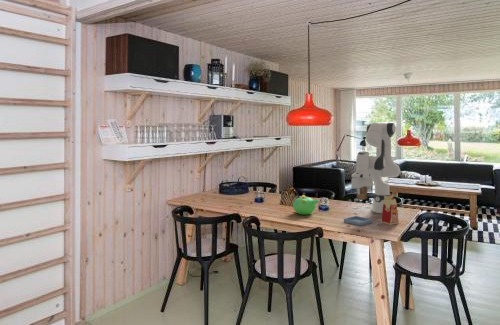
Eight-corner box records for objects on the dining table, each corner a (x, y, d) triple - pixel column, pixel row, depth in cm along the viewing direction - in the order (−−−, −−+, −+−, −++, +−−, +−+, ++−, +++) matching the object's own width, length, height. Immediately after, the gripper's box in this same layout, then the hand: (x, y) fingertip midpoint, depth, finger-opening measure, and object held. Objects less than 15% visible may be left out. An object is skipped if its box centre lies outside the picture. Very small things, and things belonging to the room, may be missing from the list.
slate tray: (355, 219, 268) (355, 215, 268) (372, 222, 257) (372, 219, 257) (343, 222, 260) (343, 218, 259) (360, 226, 248) (360, 222, 248)
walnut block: (361, 198, 261) (361, 185, 261) (367, 199, 257) (367, 186, 257) (356, 198, 258) (357, 186, 257) (362, 199, 254) (363, 187, 254)
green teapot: (308, 211, 295) (308, 193, 294) (320, 215, 280) (320, 196, 278) (289, 213, 287) (289, 195, 286) (300, 217, 272) (301, 198, 271)
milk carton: (398, 223, 256) (399, 195, 254) (390, 225, 251) (391, 196, 249) (387, 220, 264) (388, 193, 262) (379, 222, 259) (380, 194, 257)
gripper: (367, 173, 265) (366, 192, 266) (349, 174, 253) (349, 194, 254) (374, 174, 260) (374, 193, 261) (357, 175, 248) (357, 195, 249)
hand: (361, 193), depth 257 cm, fingers closed on walnut block, 5 cm apart
